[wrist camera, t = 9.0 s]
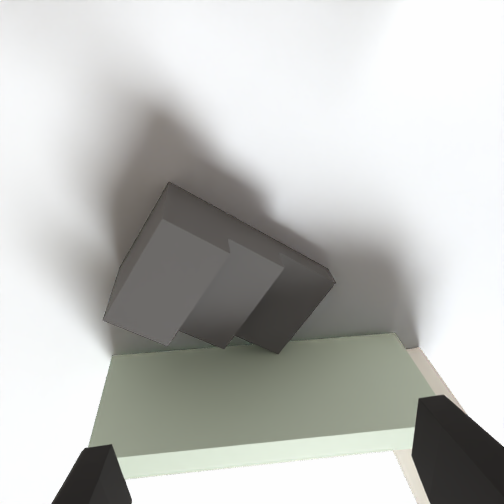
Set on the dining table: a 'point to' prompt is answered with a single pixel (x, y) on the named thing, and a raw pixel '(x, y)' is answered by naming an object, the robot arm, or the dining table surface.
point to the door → (258, 404)
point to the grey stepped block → (212, 279)
